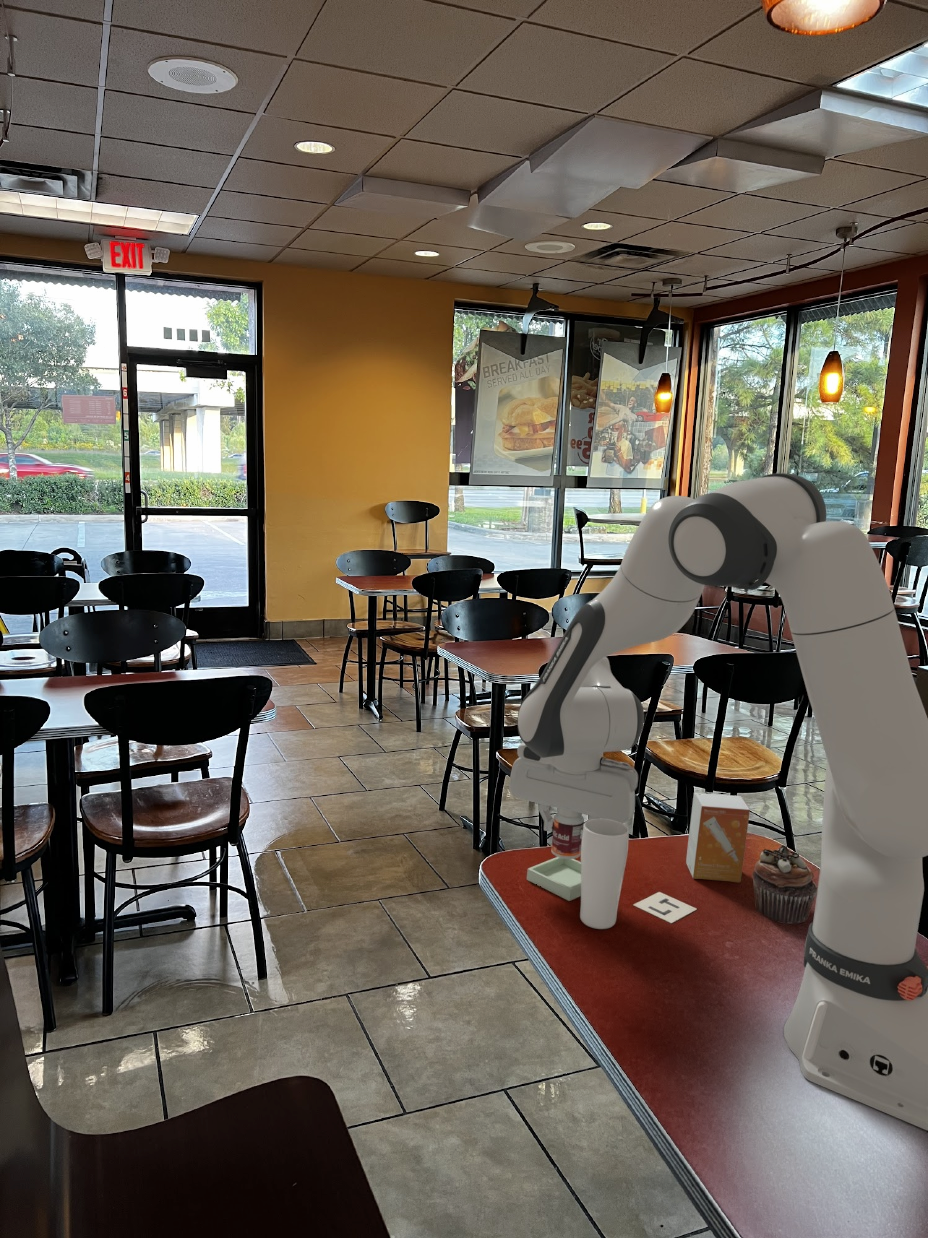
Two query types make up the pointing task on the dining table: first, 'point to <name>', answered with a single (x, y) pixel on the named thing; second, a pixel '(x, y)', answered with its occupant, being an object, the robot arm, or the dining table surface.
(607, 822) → the drinking glass
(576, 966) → the dining table surface
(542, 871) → the sage tray
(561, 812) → the pill bottle
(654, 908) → the coaster
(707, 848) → the small box
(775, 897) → the cupcake
